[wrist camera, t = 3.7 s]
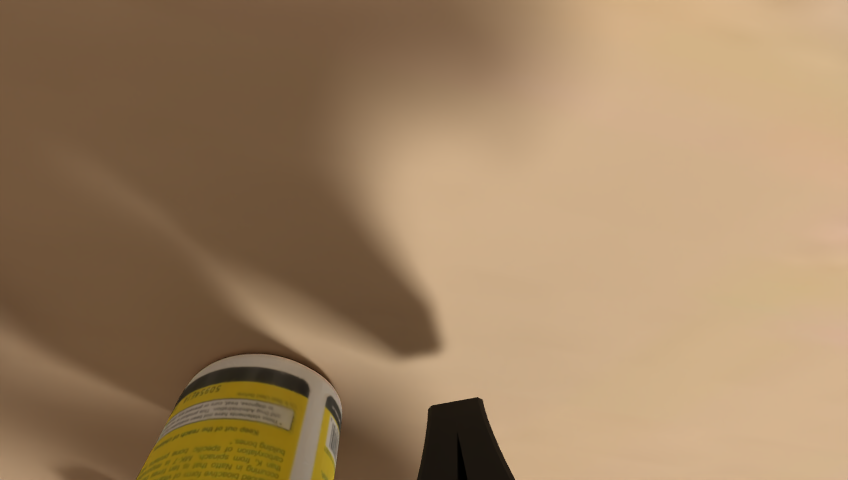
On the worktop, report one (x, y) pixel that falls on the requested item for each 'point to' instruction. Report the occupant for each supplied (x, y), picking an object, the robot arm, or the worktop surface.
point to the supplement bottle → (250, 424)
